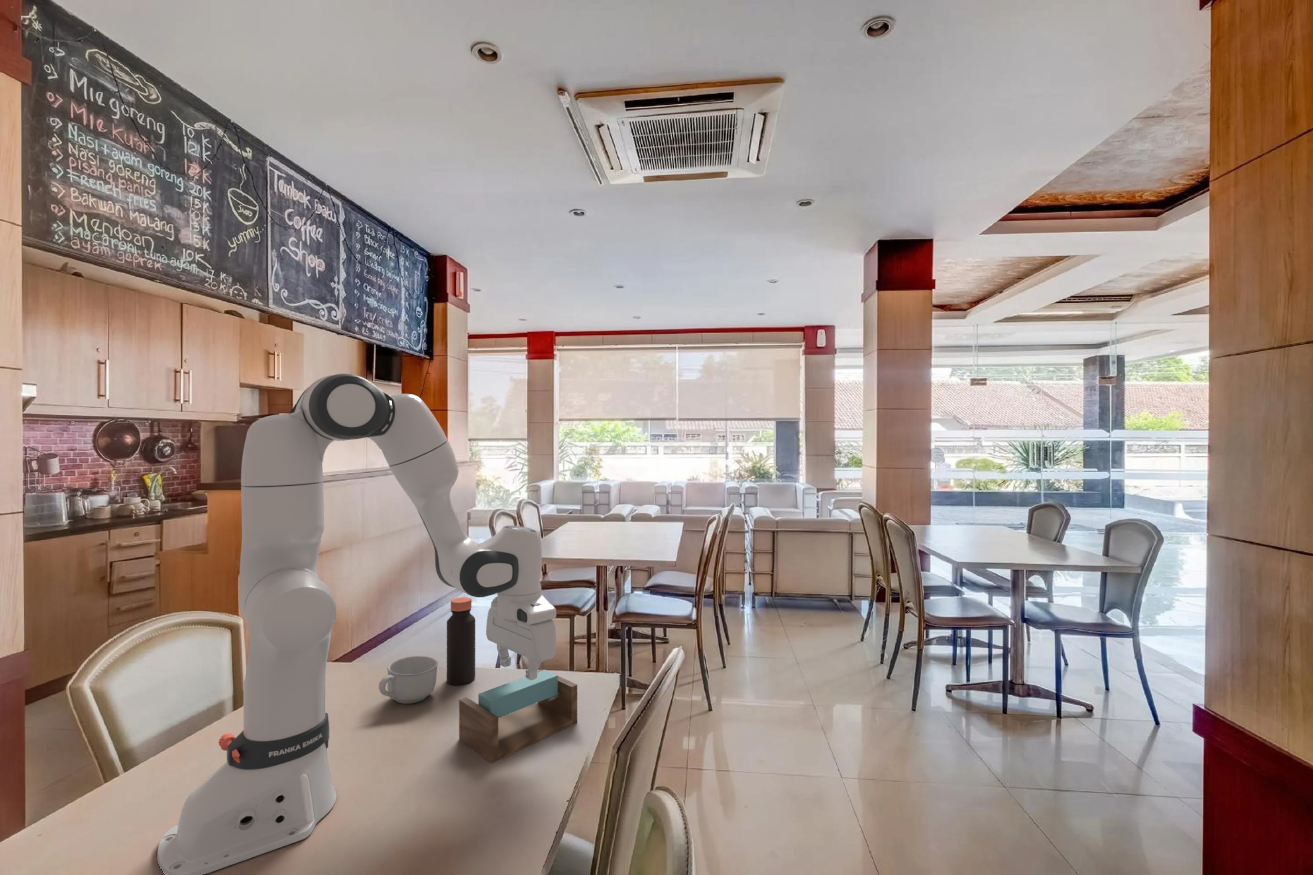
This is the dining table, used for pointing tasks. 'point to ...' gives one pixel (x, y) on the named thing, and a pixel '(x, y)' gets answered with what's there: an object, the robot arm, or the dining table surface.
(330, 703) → the dining table surface
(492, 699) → the shelf board
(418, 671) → the teacup
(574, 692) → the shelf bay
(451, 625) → the bottle
